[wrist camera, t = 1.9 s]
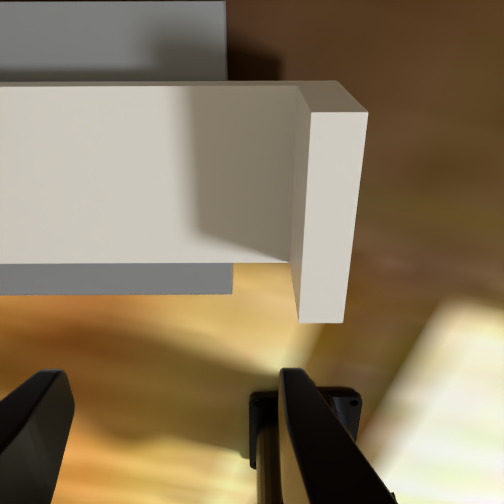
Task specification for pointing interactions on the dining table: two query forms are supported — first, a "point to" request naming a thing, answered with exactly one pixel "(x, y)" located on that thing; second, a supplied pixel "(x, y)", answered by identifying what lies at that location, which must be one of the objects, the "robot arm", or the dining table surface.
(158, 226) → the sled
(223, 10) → the grey piece
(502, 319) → the dining table surface
